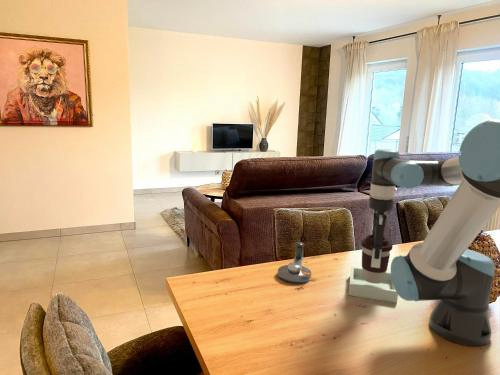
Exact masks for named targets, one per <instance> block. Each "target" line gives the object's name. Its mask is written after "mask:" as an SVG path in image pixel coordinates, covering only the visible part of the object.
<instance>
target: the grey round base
mask: <svg viewBox="0 0 500 375" xmlns="http://www.w3.org/2000/svg"><path fill="white" fill-rule="evenodd" d="M277 278H278V279H279V280H280V281H282V282H284V283H285V284H286V283H287V284H290V285H302V284H303V285H304V284H307V283H309V282H310V281H313V282H317V279H318V278H314V277H312V271H311V269H309V268H308V267H306V266H303V265H302V272H301V273H298V274H294V273H290V272H288V264H285V265H282V266H280V267H278V269H277Z"/></svg>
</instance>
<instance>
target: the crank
mask: <svg viewBox="0 0 500 375" xmlns="http://www.w3.org/2000/svg"><path fill="white" fill-rule="evenodd" d="M294 246H295V253H294V254H295V256H294V258H293V261H292V262H289V263H288V264H287V265H288V272H290V273H294V274H298V273H301V272H302V266H303V265H302V264H303V262H304V247H305V242H301V241H297V242H295V243H294Z"/></svg>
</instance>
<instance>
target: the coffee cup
mask: <svg viewBox="0 0 500 375" xmlns="http://www.w3.org/2000/svg"><path fill="white" fill-rule="evenodd" d="M374 236H375V235H372V234H368V235H366V237H365V238H362V239H361V241H360V242H361V243H360V245H361V247H362V250H361V268H362V278H363V279H364V280H365V281H367V282H370V283H375V284H379V283H382V282H384V279H385V274H386V272H388V267H389V261H390V256H391V254H390V252H391V251H392V250H393V247H394V246H393V243H392V242H391V241H390V240H389V238H387V237H386V236H385V235H383V246H382V247H383V249H382V252H381V261H380V268H375V267H371V261H372V252H373V248H371V246H374ZM379 246H380V245H379Z"/></svg>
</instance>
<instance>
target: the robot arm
mask: <svg viewBox="0 0 500 375" xmlns="http://www.w3.org/2000/svg"><path fill="white" fill-rule="evenodd" d="M459 152H460V153H461V154H460V155H459V156H456V157H455V156H454V157H451V158H447V159H442V160H408V159H407V160H405V159H400V152H399V151H398V150H396V149H385V148H384V149H383V148H380V149H376V150H375V151H374V155H373V160H372V162H373V163H372V170H371V172H372V173H371V182H370V189H369V190H370V191H369V195H370V196H369V201H368V207H369V208H370V209H371V210H374V212H373V214H372V218H373V220H372V221H373V222H372V224H373V227H372V228H373V229H372V234H371V235H375V236H374V246H371V248H373V252H372V261H371V267H375V268H380V261H381V252H382V249H383V247H382V246H383V236H385V235H384V234H385V233H384V232H385V228H386V221H387V214H386V213H385V212H390V211H393V209H394V203H395V202H394V201H395V200H394V199H395V198H394V197H395V193H396V192H397V191H398V188H396V186H397V187H399V188H403V189H404V188H405V189H407V190H410V189H414V188H417V187H429V186H430V187H432V186H433V187H454V186H458V187H457V189H455V192H454V193H453V194H452V196H451V198H450V199H449V201H448V202H447V204H446V205H445V207H444V209H443V211H442V212H441V213H440V215H439V216H438V218H437V220H436V221H435V223H434V224H433V226H432V227H431V229H430V230H429V232H428V233H427V235H426V236H425V238H424V239H423V241H422V242H419V243H416V244H414V245H413V246H412V247H411V248H410V249H409V251H408V253H407V254H406V255H398V256H395V257H393V259H392V260H391V262H390V263H391V265H390V272H391V278H392V282H393V285H394V288H395V290H396V292H397V294H398V296H399V297H400V298H401V299H402V300H405V301H408V302H422V301H423V302H424V301H437V303H436V304H435V305H434V308H433V309H432V311H431V313H430V316H429V322H428V323H429V326H430V328H431V330H433V331H434V332H435V333H436V334H437V335H439V336H441V337H442V338H443V339H445V340H448V341H450V342H452V343H456V344H458V345H459V344H460V345H462V346H467V347H482V346H486V345H487V344H489V343H490V342H491V337H492V327H491V322H490V317H489V314H488V311H489V304H490V298H491V294H492V289H493V284H494V283H493V282H494V278H495V276H496V275H495V269H496V268H495V267H496V266H495V265H496V263H495V262H494V260H493V259H492V258H491V257H489V256H487V255H485V254H483V253H482V252H481V253H480V252H478V251H475V250H473V249H472V250H471V249H469V247H470V245H471V244H472V243H473V242H474V240H475V239H476V237H477V236H478V235H479V234H480V233H481V231H482V230H483V229H484V228H485V226H486V225H487V224H488V222H490V220H491V219H492V217H493V216H494V215H495V214H496V212H497V211H498V210H499V208H500V119H491V120H490V119H489V120H486V121H483V122H480V123H478V124H476V125H475V126H474V127H472V128H471V129H470V130H469V131H468V132H467V134H466V135H465V136H464V138H463V140H462V142H461V144H460V147H459ZM379 245H380V246H379Z"/></svg>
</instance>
